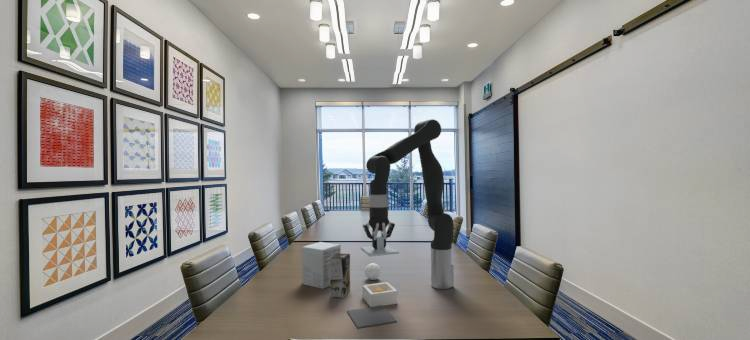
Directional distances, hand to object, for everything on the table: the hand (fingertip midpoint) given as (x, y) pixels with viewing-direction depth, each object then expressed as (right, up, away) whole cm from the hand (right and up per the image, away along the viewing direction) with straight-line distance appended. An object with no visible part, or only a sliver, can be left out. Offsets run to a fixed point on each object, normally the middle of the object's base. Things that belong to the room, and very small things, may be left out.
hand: (379, 248), depth 133 cm
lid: (0, -1, 0) cm, 1 cm away
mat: (-3, -21, -15) cm, 26 cm away
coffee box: (-16, -21, +8) cm, 28 cm away
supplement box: (-27, -22, +22) cm, 41 cm away
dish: (0, -21, 0) cm, 21 cm away
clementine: (0, -18, 0) cm, 18 cm away
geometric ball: (-3, -22, +26) cm, 34 cm away
